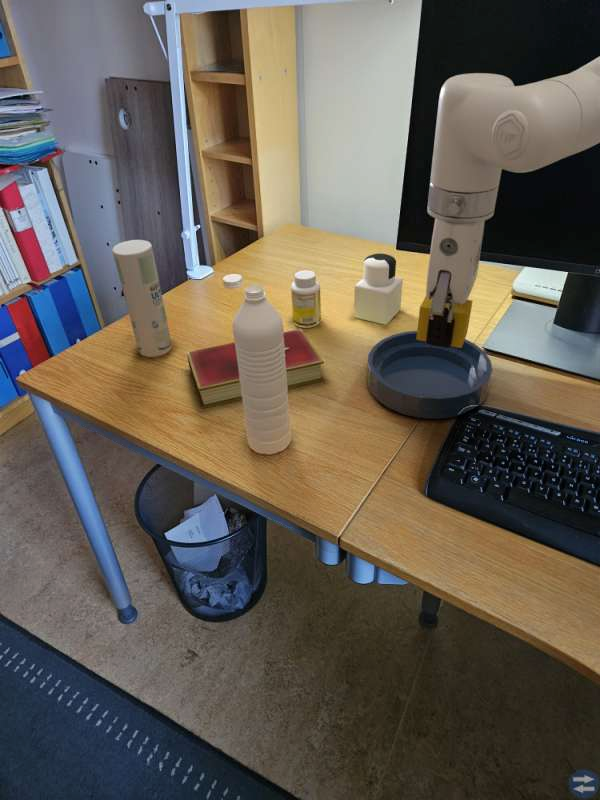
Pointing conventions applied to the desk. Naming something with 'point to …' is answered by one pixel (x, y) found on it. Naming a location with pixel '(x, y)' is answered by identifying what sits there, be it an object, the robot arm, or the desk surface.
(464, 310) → the sponge
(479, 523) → the desk surface
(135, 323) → the spray can
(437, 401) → the bowl
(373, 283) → the blocky head figurine
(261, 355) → the water bottle
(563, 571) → the desk surface
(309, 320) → the supplement bottle
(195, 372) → the hardcover book
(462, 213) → the robot arm
